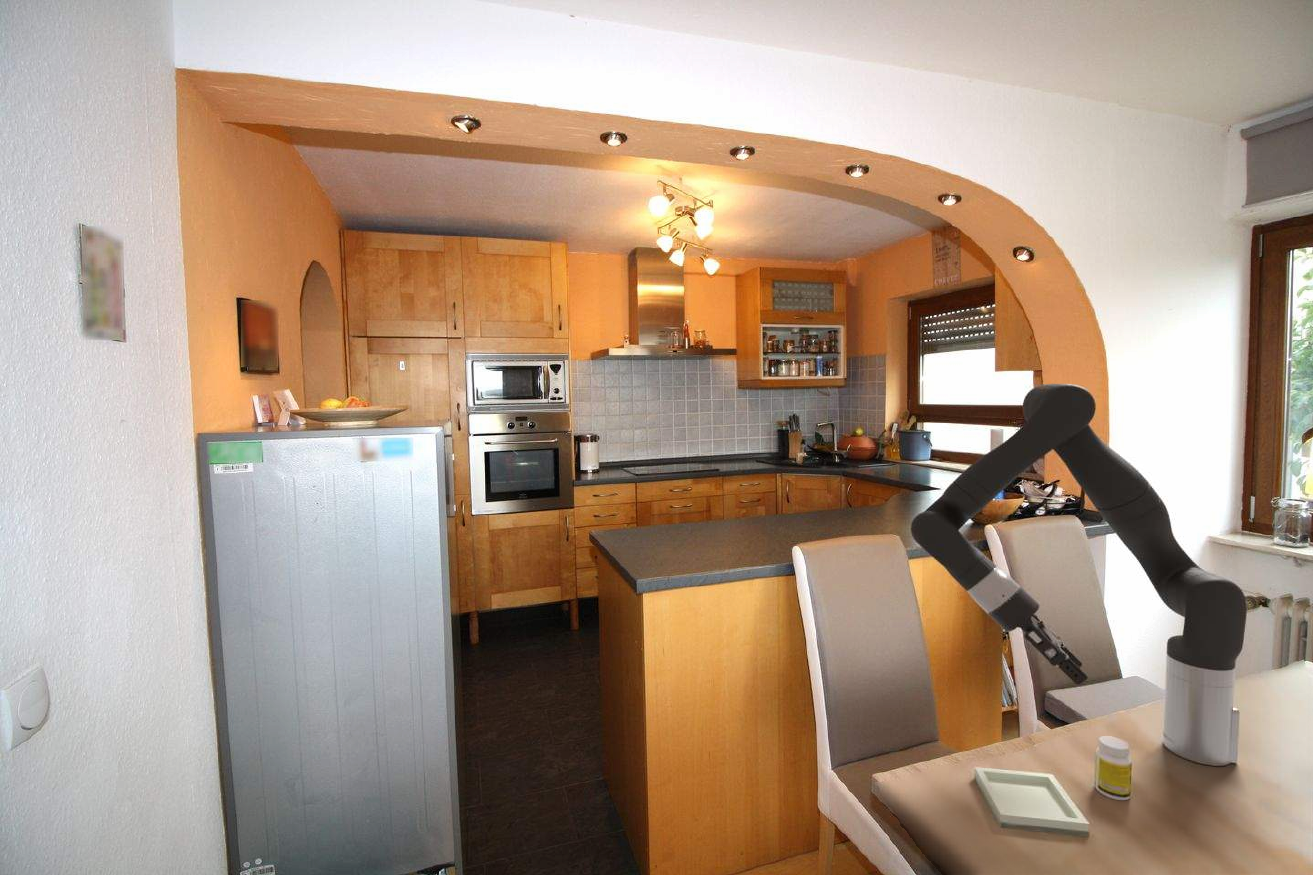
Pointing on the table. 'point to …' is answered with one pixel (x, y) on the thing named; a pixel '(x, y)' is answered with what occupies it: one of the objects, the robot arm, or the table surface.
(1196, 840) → the table surface
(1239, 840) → the table surface
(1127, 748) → the supplement bottle
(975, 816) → the table surface
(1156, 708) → the table surface
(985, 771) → the tray
